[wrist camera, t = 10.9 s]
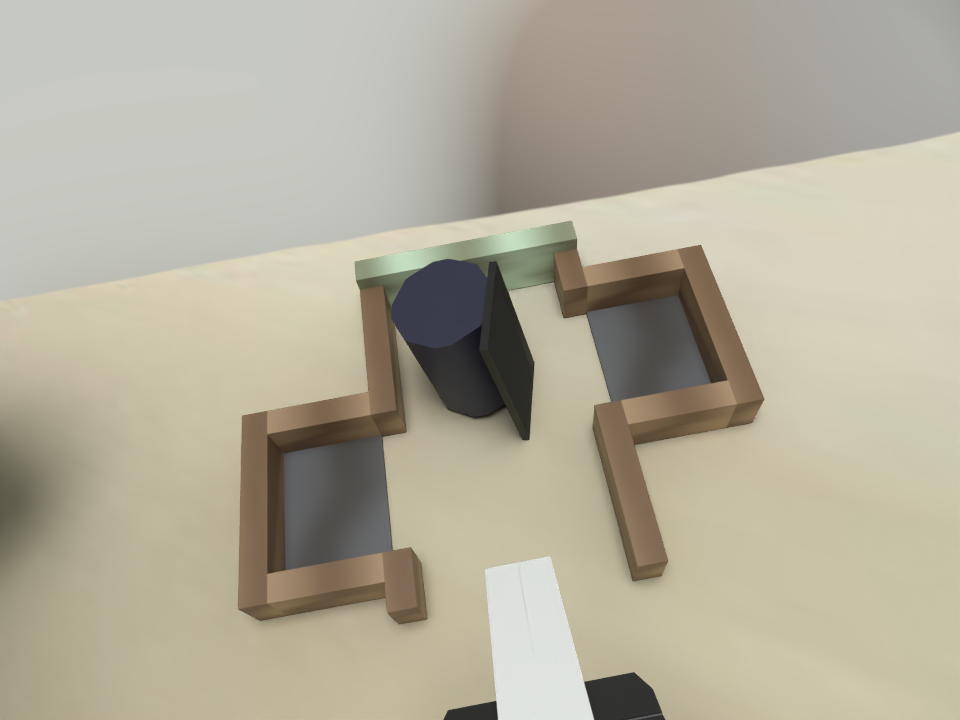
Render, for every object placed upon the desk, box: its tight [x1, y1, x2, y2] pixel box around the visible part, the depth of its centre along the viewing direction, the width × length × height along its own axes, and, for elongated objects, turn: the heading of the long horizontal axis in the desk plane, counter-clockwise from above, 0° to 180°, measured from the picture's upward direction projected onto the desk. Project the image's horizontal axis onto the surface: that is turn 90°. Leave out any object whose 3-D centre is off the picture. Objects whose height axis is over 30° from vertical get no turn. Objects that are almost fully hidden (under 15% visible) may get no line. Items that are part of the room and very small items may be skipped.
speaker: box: [391, 259, 534, 440], centre depth 40 cm, size 8×6×10 cm
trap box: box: [238, 221, 764, 624], centre depth 41 cm, size 29×22×4 cm
